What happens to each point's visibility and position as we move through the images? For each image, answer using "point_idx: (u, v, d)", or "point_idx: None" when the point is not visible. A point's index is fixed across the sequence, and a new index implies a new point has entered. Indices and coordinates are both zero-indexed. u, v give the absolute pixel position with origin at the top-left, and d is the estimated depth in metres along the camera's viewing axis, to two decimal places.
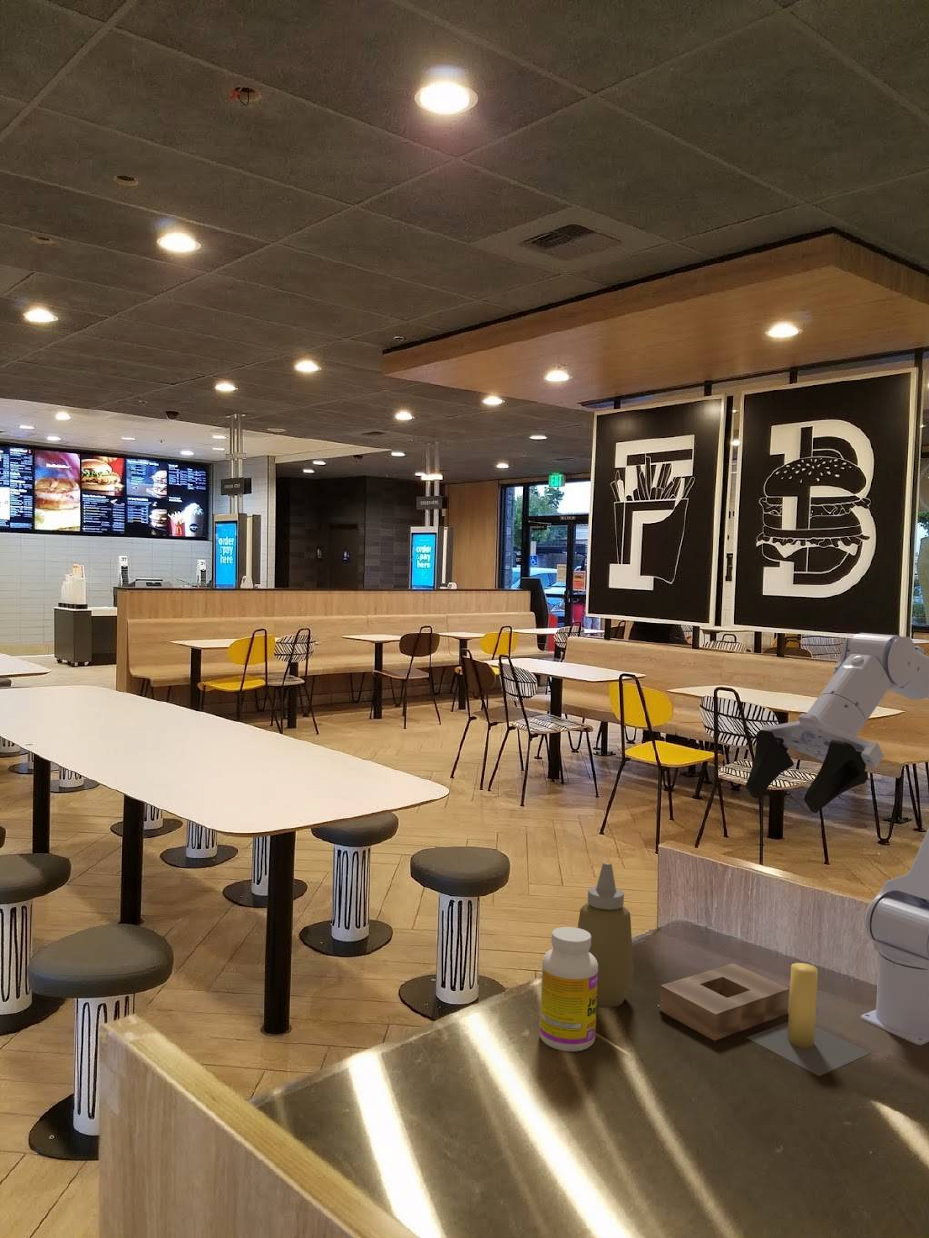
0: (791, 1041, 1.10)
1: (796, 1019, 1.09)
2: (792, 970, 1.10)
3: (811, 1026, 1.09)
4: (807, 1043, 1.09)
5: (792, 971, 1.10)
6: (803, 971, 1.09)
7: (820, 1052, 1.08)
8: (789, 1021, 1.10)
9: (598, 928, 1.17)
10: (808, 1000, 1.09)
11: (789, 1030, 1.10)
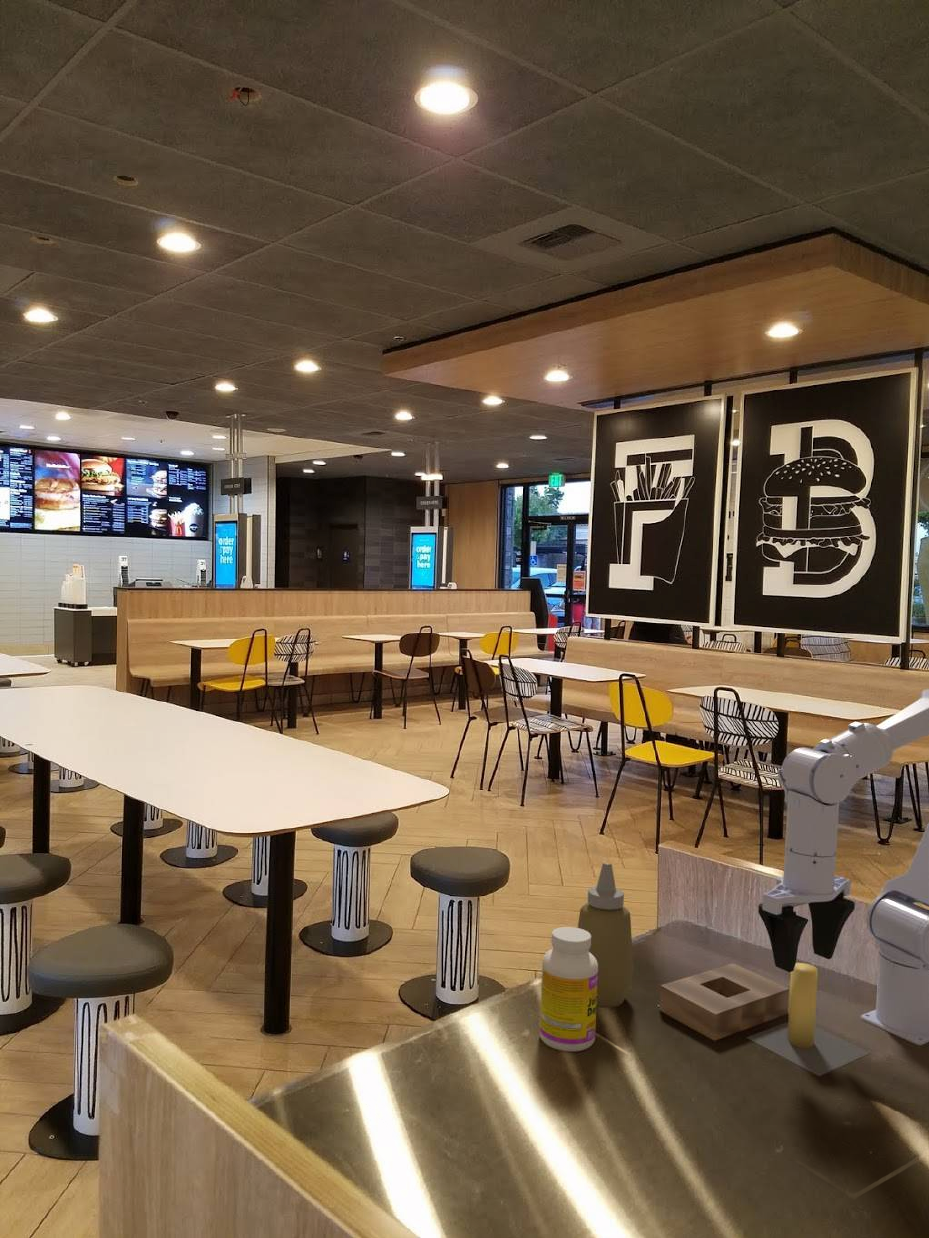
0: (791, 1041, 1.10)
1: (796, 1019, 1.09)
2: None
3: (811, 1026, 1.09)
4: (807, 1043, 1.09)
5: (792, 971, 1.10)
6: (803, 971, 1.09)
7: (820, 1052, 1.08)
8: (789, 1021, 1.10)
9: (598, 928, 1.17)
10: (808, 1000, 1.09)
11: (789, 1030, 1.10)
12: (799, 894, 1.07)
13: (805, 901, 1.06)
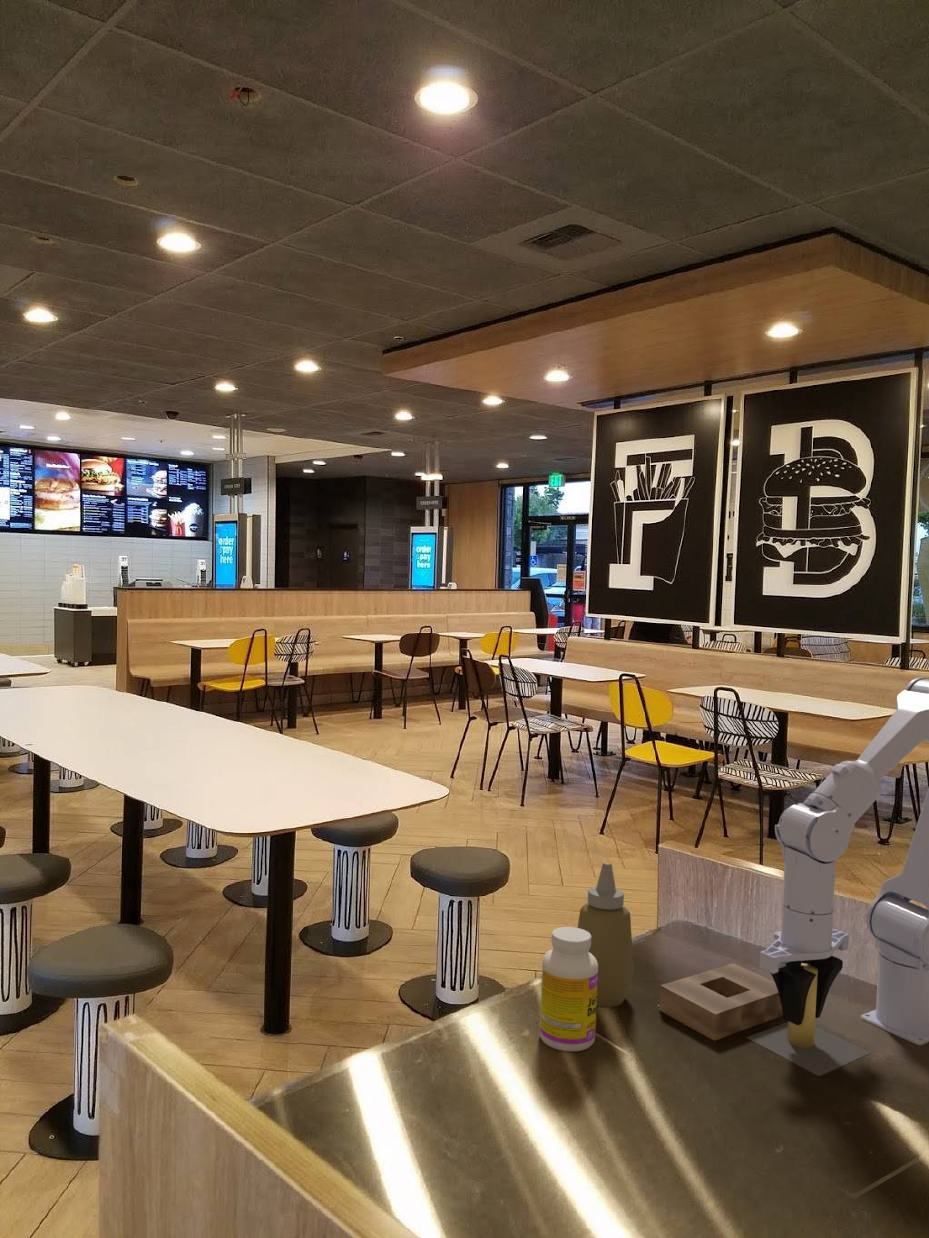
0: (791, 1041, 1.10)
1: None
2: None
3: (811, 1026, 1.09)
4: (807, 1043, 1.09)
5: None
6: None
7: (820, 1052, 1.08)
8: None
9: (598, 928, 1.17)
10: (808, 1000, 1.09)
11: (789, 1030, 1.10)
12: (796, 951, 1.08)
13: (802, 959, 1.07)
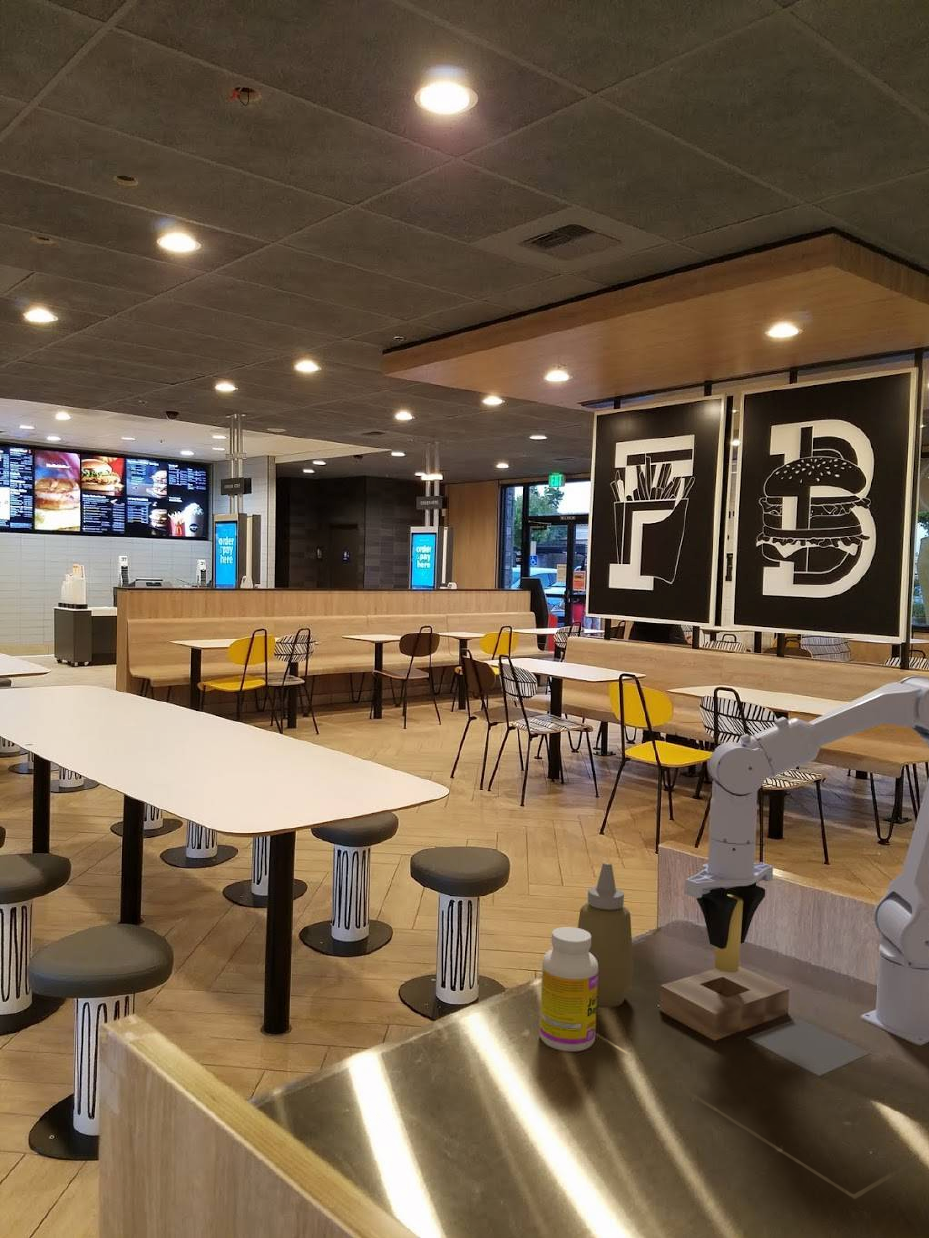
0: (717, 967, 1.17)
1: None
2: None
3: (736, 952, 1.16)
4: (732, 968, 1.16)
5: None
6: None
7: (820, 1052, 1.08)
8: (716, 948, 1.17)
9: (598, 928, 1.17)
10: (733, 928, 1.16)
11: (716, 957, 1.17)
12: (720, 879, 1.15)
13: (725, 885, 1.13)
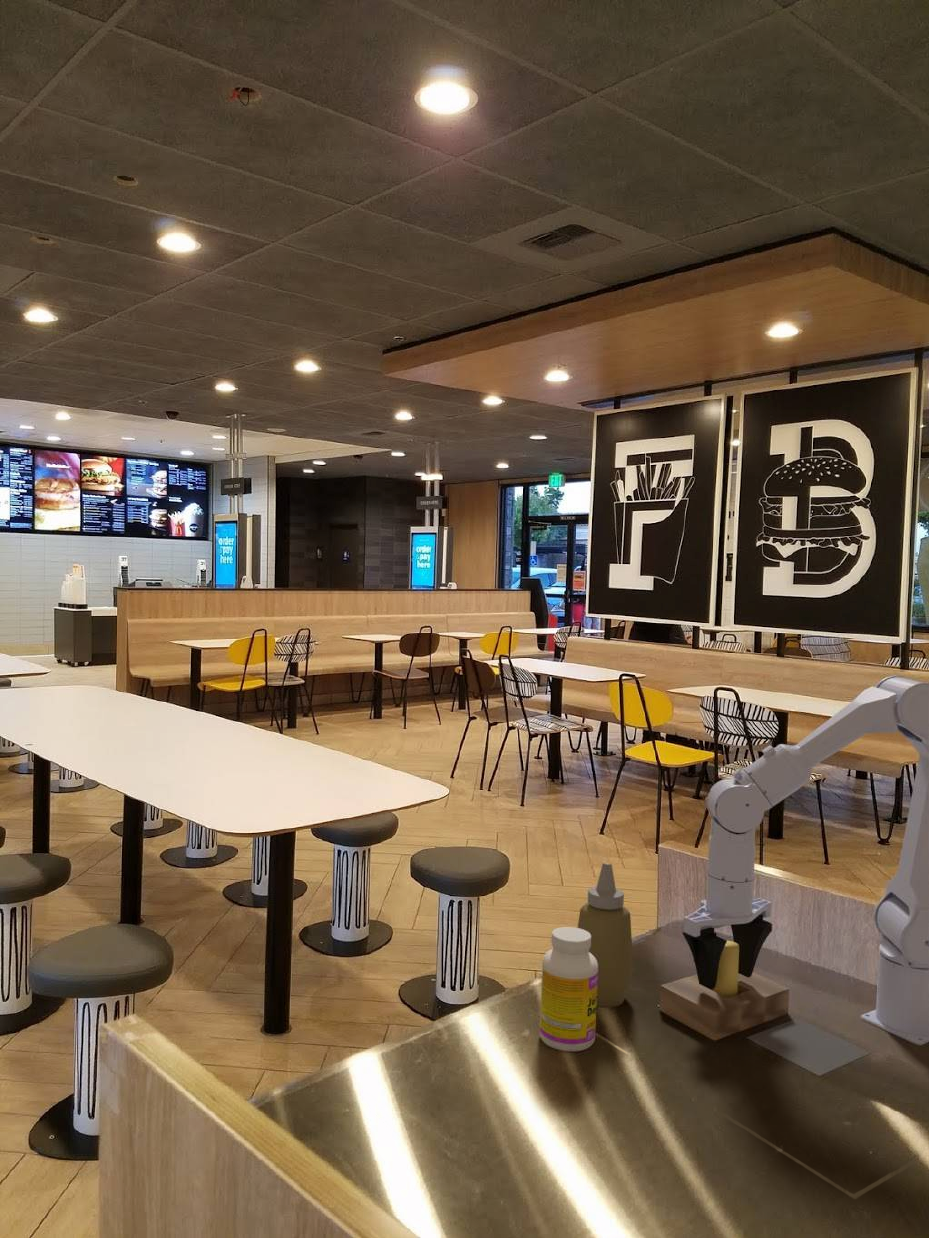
0: None
1: (719, 992, 1.16)
2: None
3: None
4: None
5: None
6: (725, 947, 1.16)
7: (820, 1052, 1.08)
8: None
9: (598, 928, 1.17)
10: (730, 974, 1.16)
11: None
12: (718, 917, 1.15)
13: (723, 924, 1.14)
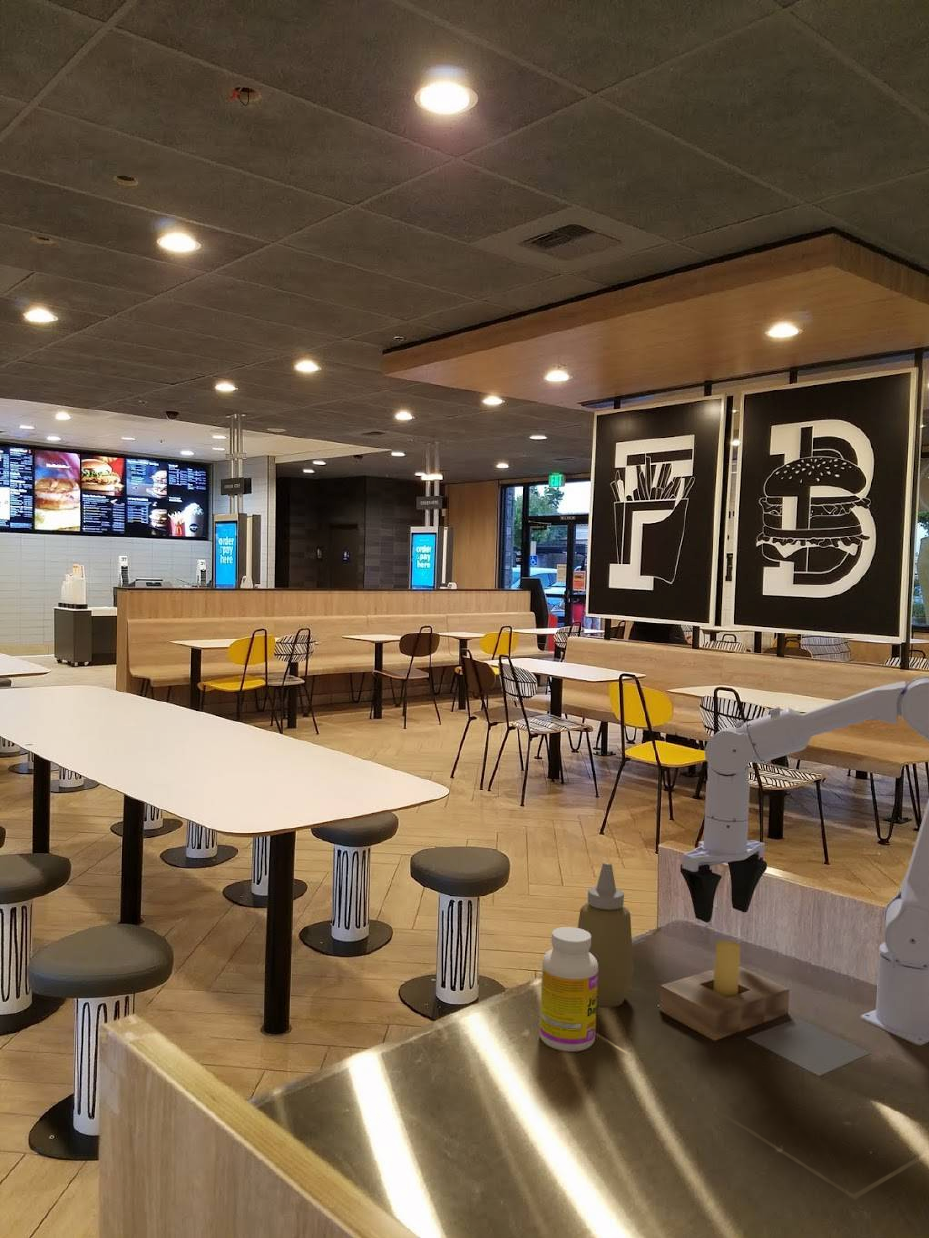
0: None
1: (720, 992, 1.16)
2: (716, 947, 1.17)
3: None
4: None
5: (716, 948, 1.17)
6: (726, 947, 1.16)
7: (820, 1052, 1.08)
8: None
9: (598, 928, 1.17)
10: (730, 975, 1.16)
11: None
12: (715, 854, 1.23)
13: (719, 860, 1.22)
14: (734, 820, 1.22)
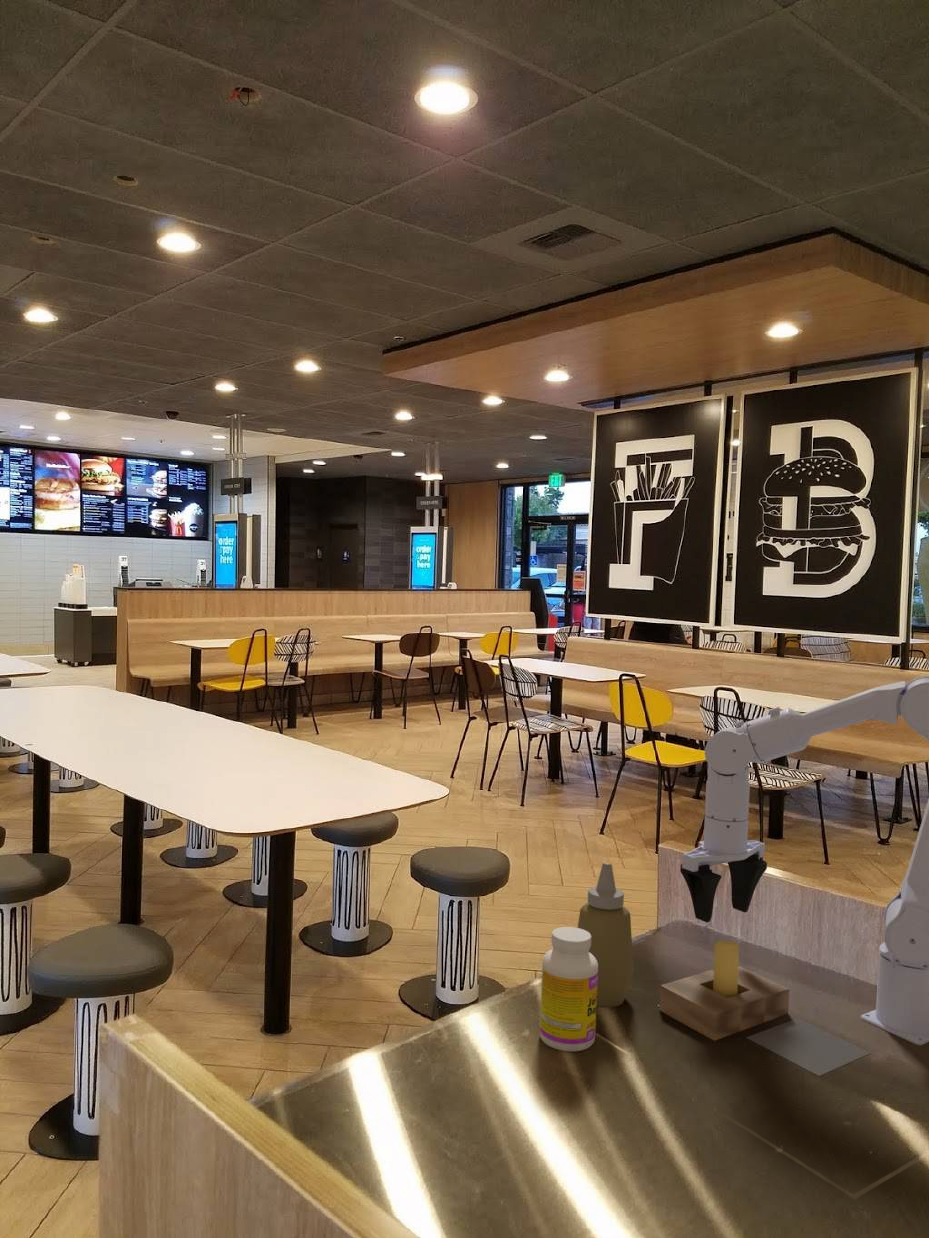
0: None
1: (719, 992, 1.16)
2: (715, 947, 1.17)
3: None
4: None
5: (715, 948, 1.17)
6: (725, 947, 1.16)
7: (820, 1052, 1.08)
8: None
9: (598, 928, 1.17)
10: (730, 974, 1.16)
11: None
12: (715, 854, 1.23)
13: (719, 860, 1.22)
14: (734, 820, 1.23)
